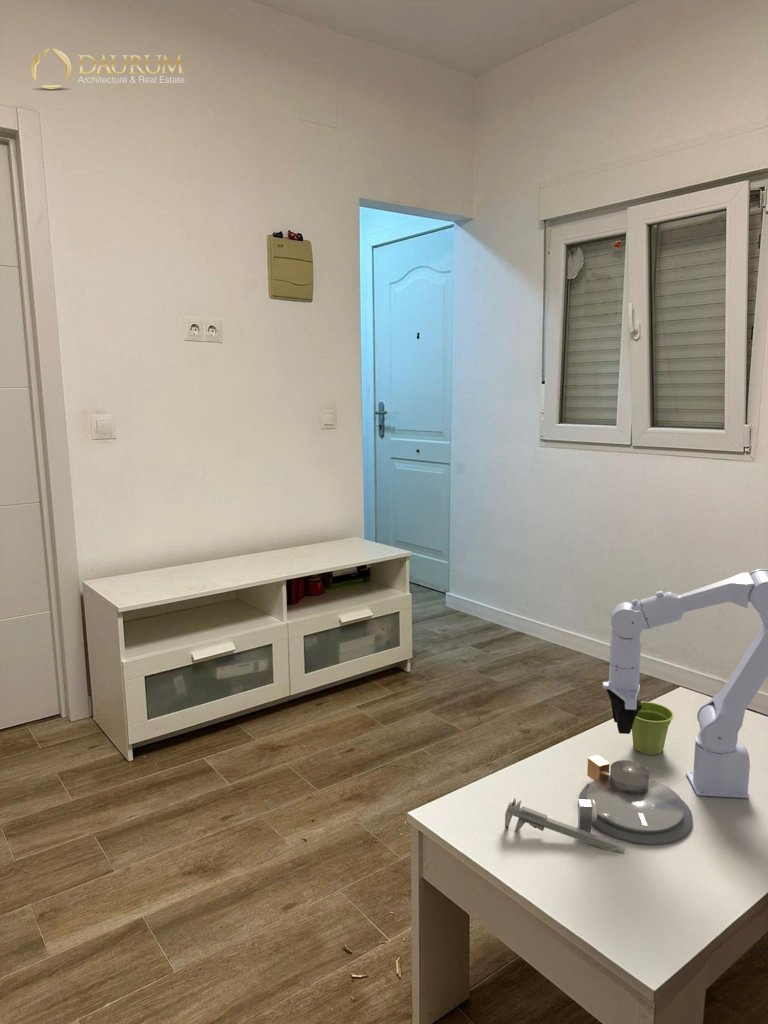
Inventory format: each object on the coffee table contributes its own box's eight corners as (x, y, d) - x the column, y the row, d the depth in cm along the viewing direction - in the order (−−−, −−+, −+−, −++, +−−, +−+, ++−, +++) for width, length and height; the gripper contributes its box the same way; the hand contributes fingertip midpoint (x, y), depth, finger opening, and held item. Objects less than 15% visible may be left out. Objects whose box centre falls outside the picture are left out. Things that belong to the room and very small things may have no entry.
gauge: (593, 825, 131) (594, 795, 130) (596, 837, 127) (597, 806, 126) (577, 824, 131) (578, 794, 130) (580, 837, 128) (581, 806, 127)
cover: (643, 775, 142) (644, 760, 142) (652, 795, 136) (653, 779, 135) (606, 773, 143) (607, 758, 143) (613, 793, 136) (614, 778, 136)
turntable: (666, 776, 144) (667, 758, 144) (695, 836, 125) (697, 816, 125) (578, 771, 146) (579, 754, 146) (594, 831, 127) (595, 811, 127)
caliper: (504, 831, 130) (505, 799, 129) (505, 827, 131) (506, 796, 130) (624, 855, 123) (626, 821, 122) (624, 851, 124) (626, 818, 123)
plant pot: (664, 738, 162) (666, 702, 160) (677, 760, 152) (679, 722, 151) (621, 737, 162) (622, 700, 161) (631, 759, 153) (633, 720, 152)
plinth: (675, 784, 143) (675, 780, 143) (707, 848, 124) (707, 844, 124) (571, 779, 146) (571, 775, 146) (586, 841, 126) (587, 837, 126)
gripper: (597, 649, 151) (595, 710, 154) (610, 677, 137) (607, 744, 140) (632, 650, 150) (629, 711, 153) (649, 679, 136) (645, 745, 139)
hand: (621, 727), depth 146 cm, fingers open, 4 cm apart
